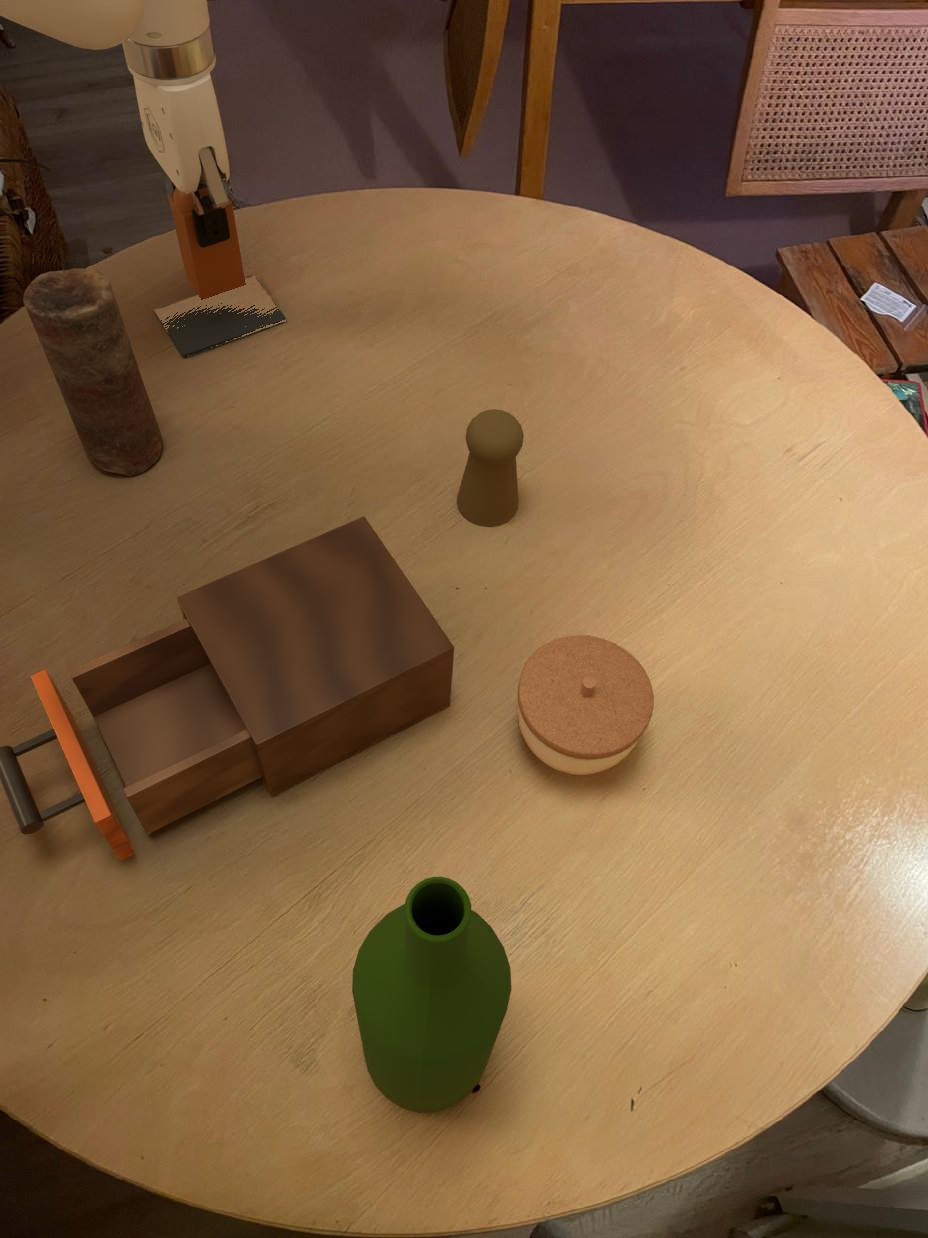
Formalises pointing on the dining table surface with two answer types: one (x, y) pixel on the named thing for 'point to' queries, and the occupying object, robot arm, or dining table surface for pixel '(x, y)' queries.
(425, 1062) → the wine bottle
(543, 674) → the trinket box
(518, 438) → the chess pawn piece
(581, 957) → the dining table surface
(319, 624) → the cabinet
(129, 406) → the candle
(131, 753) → the drawer
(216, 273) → the tall orange block
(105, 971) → the dining table surface
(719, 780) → the dining table surface
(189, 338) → the mat
